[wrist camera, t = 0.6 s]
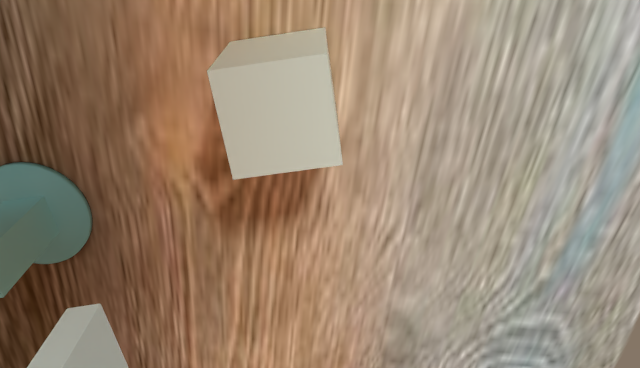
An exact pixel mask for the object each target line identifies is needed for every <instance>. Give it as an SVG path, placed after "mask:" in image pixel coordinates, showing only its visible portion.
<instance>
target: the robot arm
mask: <svg viewBox="0 0 640 368" xmlns="http://www.w3.org/2000/svg"><path fill="white" fill-rule="evenodd" d="M27 368H129V367H128V365H127V363H126V360H125V358H124V356H123V354H122V351H121V349H120V347H119V344H118V342H117V340H116V338H115V335H114V333H113V331H112V328H111V326H110V324H109V322H108V319H107V317H106V315H105V312H104V310H103V308H102V306H101V303H100V304H94V305H87V306H80V307H73V308H67V309H66V311H65V312H64V314H63V315H62V317H61V318H60V320H59V321H58V322H57V324H56V325H55V327H54V328H53V330H52V331H51V333H50V334H49V336H48V337H47V339H46V340H45V342H44V343H43V345H42V346H41V348H40V349H39V351H38V352H37V354H36V355H35V356H34V358H33V359H32V361H31V362H30V364H29V365H28V367H27Z"/></svg>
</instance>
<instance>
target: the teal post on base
mask: <svg viewBox="0 0 640 368" xmlns="http://www.w3.org/2000/svg"><path fill="white" fill-rule="evenodd" d="M91 230H92V214H91V210H90V207H89V204H88V202H87V200H86V198H85V197H84V195H83V193H82V192H81V191H80V190H79V188H78V187H77V186H76V185H75V184H74V183H73V182H72V181H70V180H69V179H68V178H67V177H65V176H64V175H62V174H61V173H59V172H57V171H55V170H53V169H51V168H49V167H46V166H43V165H40V164H36V163H29V162H15V163H9V164H5V165H2V166H0V298H3V297H4V296H5V295H6V294H7V293H8V292H9V290H10V289H11V288H12V287H13V286H14V285H15V283H16V282H17V281H18V280H19V279H20V278H21V276H22V275H23V274H24V273H25V272H26V271H27V269H28V268H29V267H30V266H31V265H32V264H33V263H37V264H52V263H58V262H61V261H64V260H67V259H69V258H71V257H72V256H74V255H75V254H77V253H78V252H79V251H80V250H81V248H82V247H83V246H84V244H85V243H86V242H87V240H88V238H89V236H90V233H91Z"/></svg>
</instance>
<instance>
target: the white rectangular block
mask: <svg viewBox="0 0 640 368" xmlns="http://www.w3.org/2000/svg"><path fill="white" fill-rule="evenodd" d="M207 74H208V78H209V82H210V86H211V90H212V94H213V98H214V103H215V107H216V111H217V115H218V119H219V123H220V127H221V132H222V136H223V140H224V144H225V148H226V152H227V156H228V161H229V165H230V169H231V173H232V177H233V180H235V179H242V178H249V177H257V176H264V175H272V174H279V173H287V172H294V171H302V170H309V169H316V168H324V167H331V166H339V165H343V163H342V154H341V145H340V136H339V127H338V118H337V111H336V103H335V96H334V89H333V81H332V74H331V67H330V59H329V52H328V44H327V37H326V30H325V27H324V28H318V29H311V30H304V31H298V32H291V33H284V34H278V35H271V36H264V37H258V38H251V39H244V40H237V41H231V42H229V44H228V45H227V46H226V47H225V49H224V50H223V51H222V52H221V54H220V55H219V56H218V58H217V59H216V60H215V61H214V63H213V64H212V65H211V66H210V68H209V69H208V70H207Z"/></svg>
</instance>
